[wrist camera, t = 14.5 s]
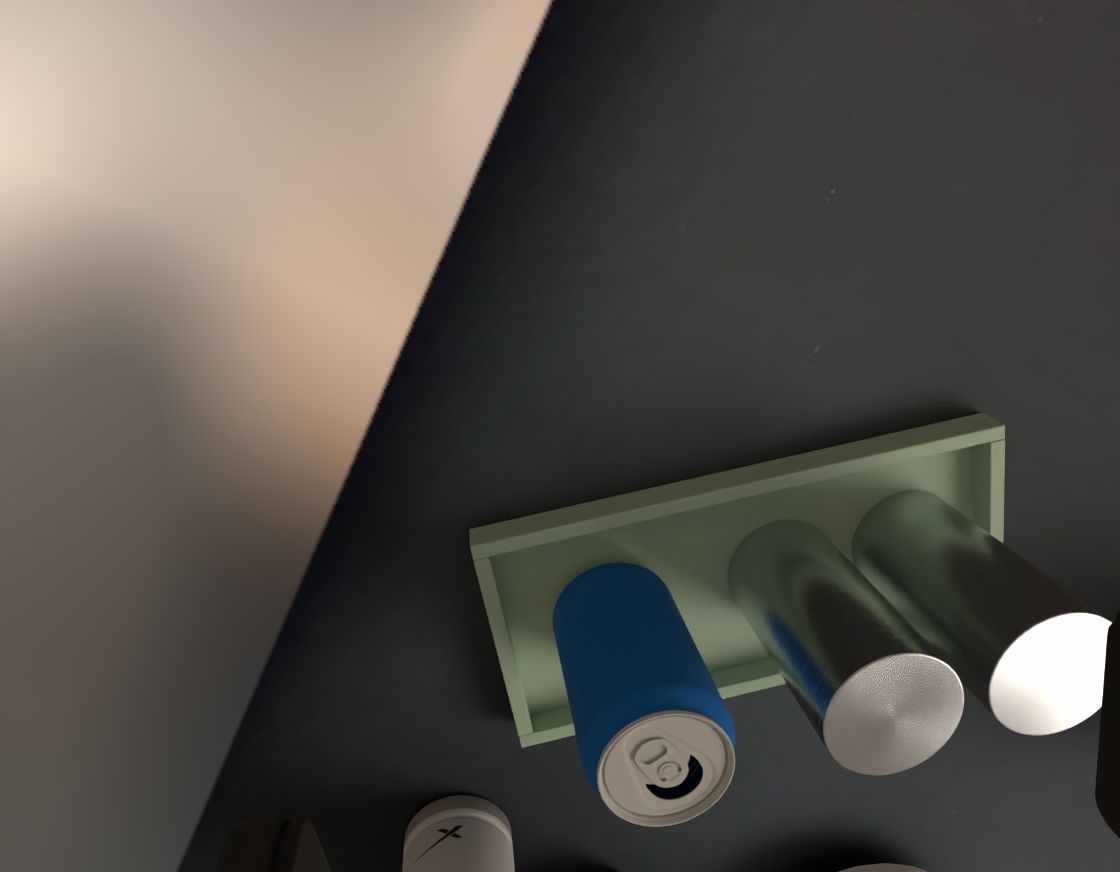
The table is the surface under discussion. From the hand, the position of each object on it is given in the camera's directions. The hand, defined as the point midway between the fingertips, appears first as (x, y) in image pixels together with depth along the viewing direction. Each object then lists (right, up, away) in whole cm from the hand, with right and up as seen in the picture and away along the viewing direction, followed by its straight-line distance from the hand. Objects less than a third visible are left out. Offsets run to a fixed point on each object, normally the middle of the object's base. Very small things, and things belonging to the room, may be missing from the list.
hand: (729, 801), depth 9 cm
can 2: (+17, -2, +35) cm, 39 cm away
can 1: (+10, -3, +34) cm, 36 cm away
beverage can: (+1, -5, +34) cm, 34 cm away
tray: (+8, -3, +35) cm, 36 cm away
